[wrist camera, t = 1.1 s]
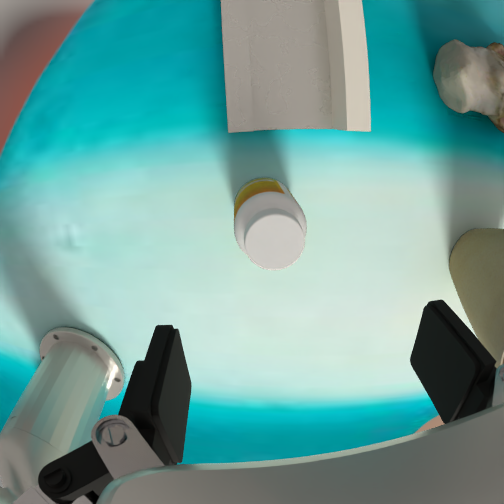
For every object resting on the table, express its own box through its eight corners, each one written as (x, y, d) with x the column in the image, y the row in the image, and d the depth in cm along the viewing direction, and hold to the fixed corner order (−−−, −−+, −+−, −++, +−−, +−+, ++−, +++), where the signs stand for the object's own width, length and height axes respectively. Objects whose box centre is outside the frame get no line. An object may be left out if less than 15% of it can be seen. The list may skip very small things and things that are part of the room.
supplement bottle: (222, 213, 30) (217, 254, 21) (255, 165, 28) (264, 186, 19) (270, 242, 31) (284, 293, 22) (303, 197, 30) (331, 232, 21)
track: (349, 128, 27) (370, 131, 23) (229, 131, 27) (227, 133, 22) (333, -53, 19) (347, -75, 15) (219, -56, 19) (216, -81, 15)
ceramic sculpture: (464, 8, 15) (552, 51, 16) (409, 25, 23) (501, 52, 24) (477, 133, 19) (558, 146, 20) (418, 124, 27) (507, 133, 28)
